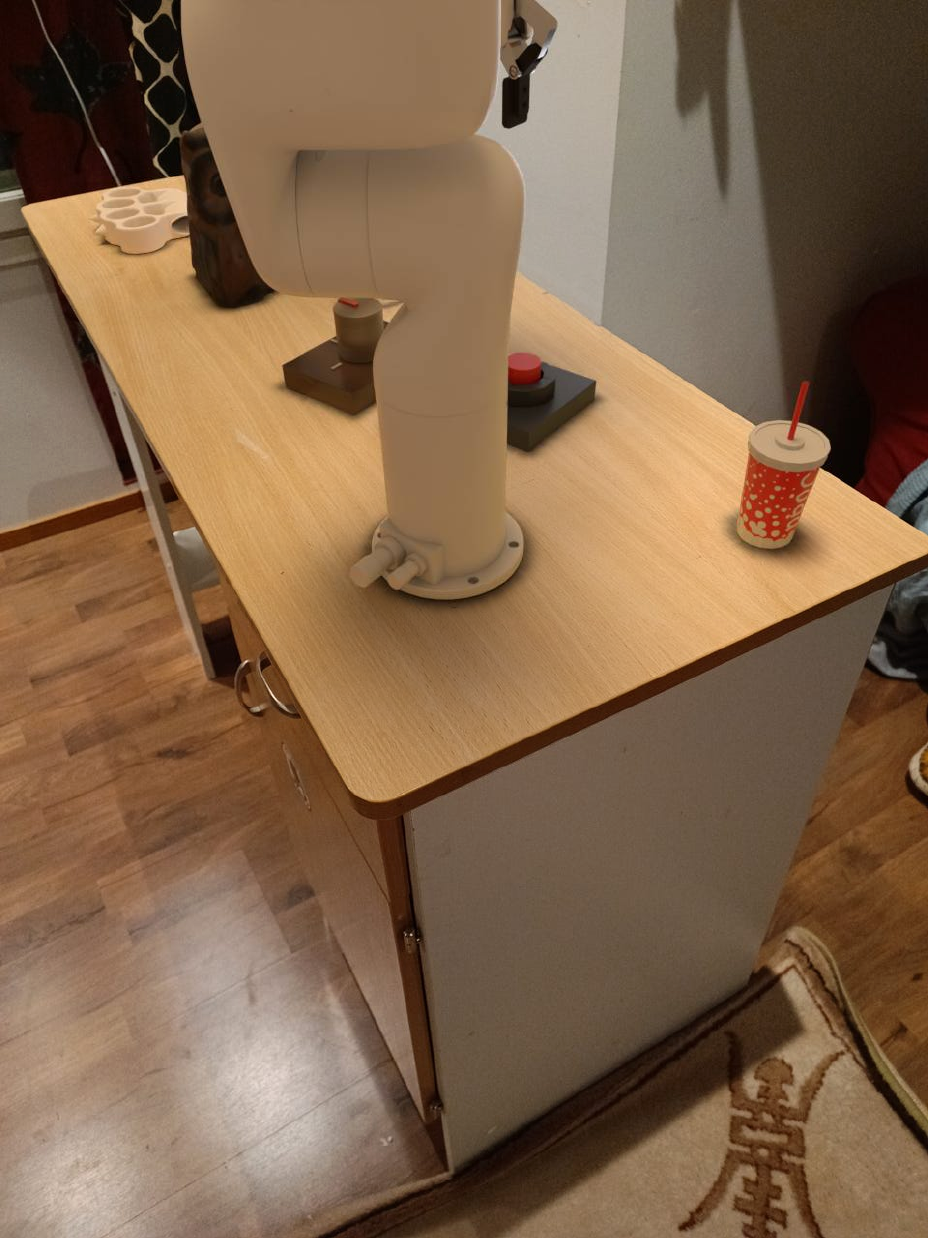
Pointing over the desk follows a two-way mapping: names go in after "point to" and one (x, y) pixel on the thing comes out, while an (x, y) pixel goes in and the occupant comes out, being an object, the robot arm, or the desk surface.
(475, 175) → the robot arm
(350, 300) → the dimmer knob
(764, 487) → the beverage cup
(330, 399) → the dimmer panel
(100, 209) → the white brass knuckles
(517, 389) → the switch block
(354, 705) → the desk surface
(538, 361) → the power button
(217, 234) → the owl
